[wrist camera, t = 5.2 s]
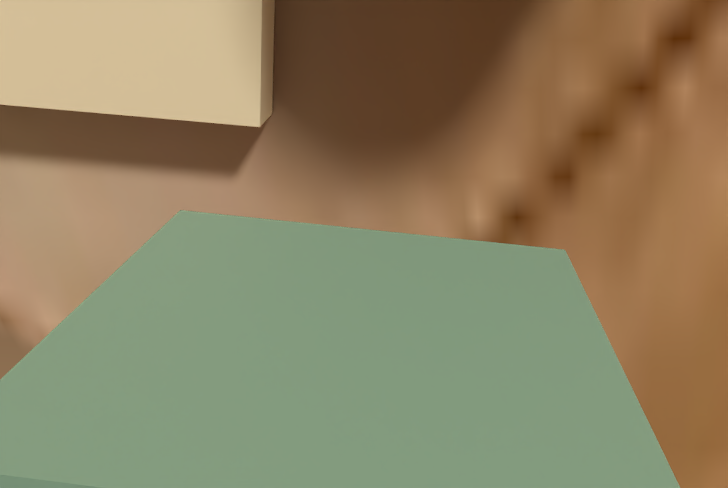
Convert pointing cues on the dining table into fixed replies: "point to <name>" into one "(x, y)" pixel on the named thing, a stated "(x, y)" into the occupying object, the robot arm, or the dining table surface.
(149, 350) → the block
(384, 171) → the dining table surface
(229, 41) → the coaster
